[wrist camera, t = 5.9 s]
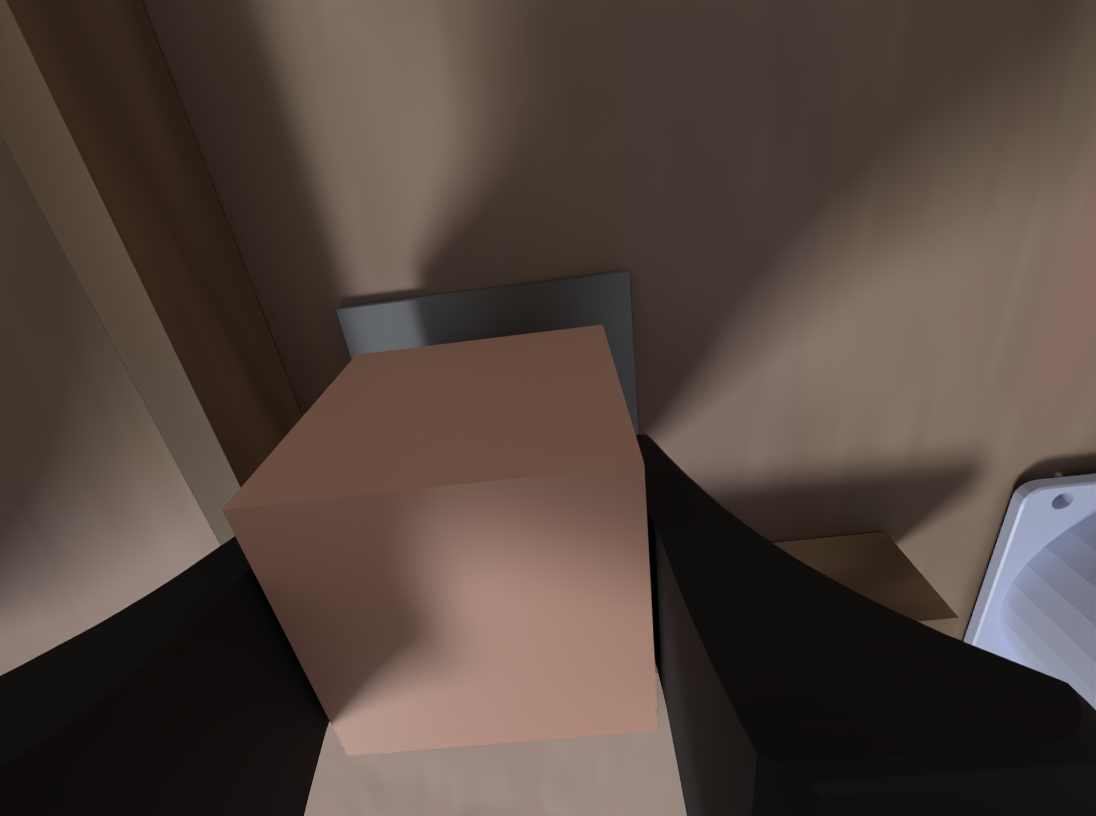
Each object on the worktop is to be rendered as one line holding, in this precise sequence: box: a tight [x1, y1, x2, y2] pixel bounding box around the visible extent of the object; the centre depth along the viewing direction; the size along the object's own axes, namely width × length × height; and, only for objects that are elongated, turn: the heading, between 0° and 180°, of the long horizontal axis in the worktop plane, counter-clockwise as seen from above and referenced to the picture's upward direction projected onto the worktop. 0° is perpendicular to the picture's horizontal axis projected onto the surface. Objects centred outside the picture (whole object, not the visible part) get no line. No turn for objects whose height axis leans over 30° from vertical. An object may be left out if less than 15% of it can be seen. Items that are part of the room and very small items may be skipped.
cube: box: [222, 325, 658, 756], centre depth 9 cm, size 5×5×5 cm
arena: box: [0, 0, 959, 673], centre depth 10 cm, size 16×18×3 cm
